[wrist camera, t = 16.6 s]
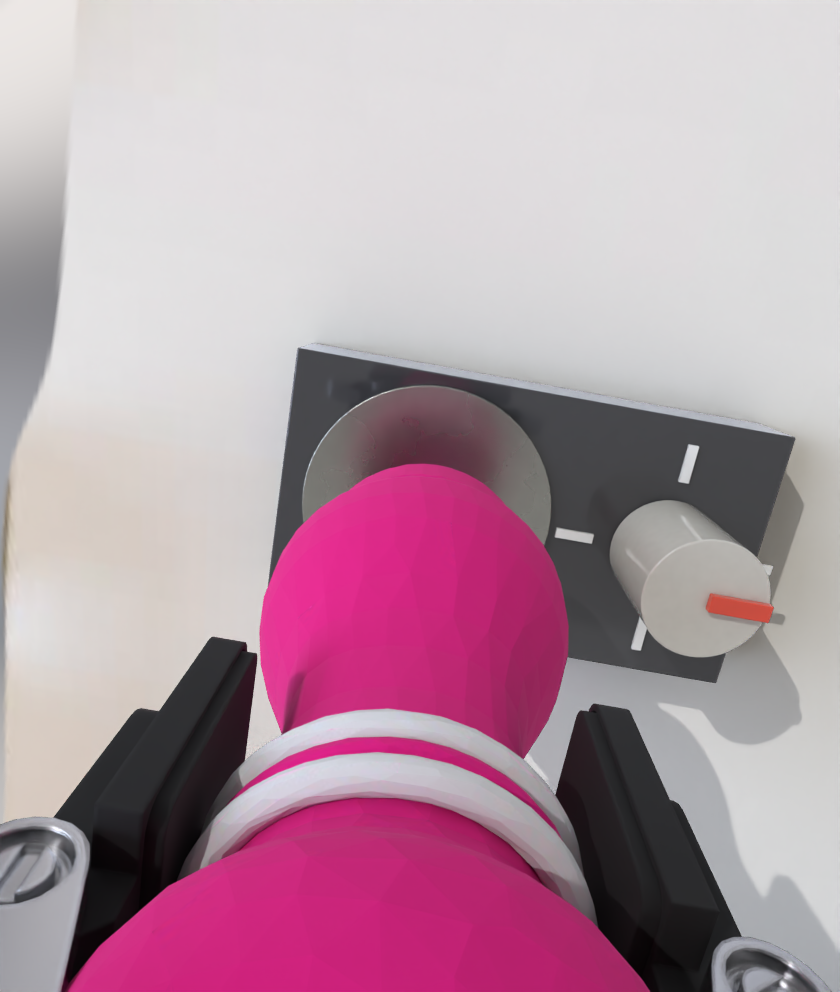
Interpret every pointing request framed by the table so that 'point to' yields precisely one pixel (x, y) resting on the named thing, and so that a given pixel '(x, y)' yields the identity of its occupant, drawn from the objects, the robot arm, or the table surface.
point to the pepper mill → (389, 774)
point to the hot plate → (570, 480)
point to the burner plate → (432, 448)
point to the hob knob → (689, 579)
